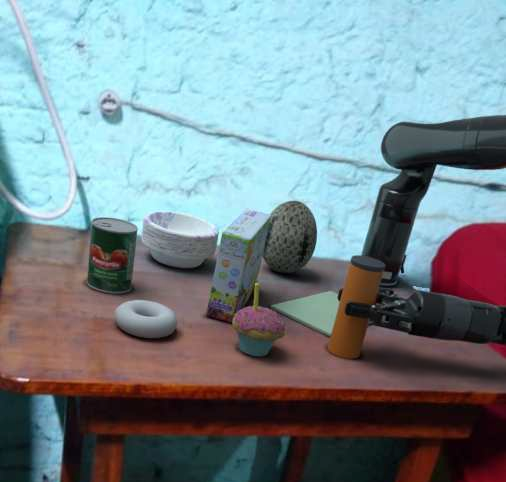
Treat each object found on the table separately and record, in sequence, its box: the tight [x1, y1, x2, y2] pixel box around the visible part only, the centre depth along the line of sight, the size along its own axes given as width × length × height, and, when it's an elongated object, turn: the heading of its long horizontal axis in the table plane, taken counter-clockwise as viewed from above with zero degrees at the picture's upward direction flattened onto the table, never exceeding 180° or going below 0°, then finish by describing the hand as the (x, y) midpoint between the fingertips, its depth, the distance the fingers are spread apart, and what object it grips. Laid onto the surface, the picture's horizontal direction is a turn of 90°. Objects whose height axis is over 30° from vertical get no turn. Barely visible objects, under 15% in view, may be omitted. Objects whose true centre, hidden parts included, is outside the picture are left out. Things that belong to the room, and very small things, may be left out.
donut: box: [114, 299, 178, 339], centre depth 118 cm, size 10×4×10 cm
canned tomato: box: [86, 216, 139, 295], centre depth 129 cm, size 8×8×11 cm
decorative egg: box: [262, 200, 318, 274], centre depth 155 cm, size 12×12×15 cm
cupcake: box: [231, 278, 286, 357], centre depth 117 cm, size 9×8×12 cm
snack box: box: [205, 207, 272, 324], centre depth 133 cm, size 21×6×15 cm, turn 168°
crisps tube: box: [327, 254, 385, 360], centre depth 123 cm, size 6×6×16 cm
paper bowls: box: [140, 210, 220, 269], centre depth 150 cm, size 15×15×8 cm
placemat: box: [269, 290, 373, 338], centre depth 142 cm, size 20×14×1 cm
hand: (342, 301), depth 122 cm, fingers closed on crisps tube, 5 cm apart
